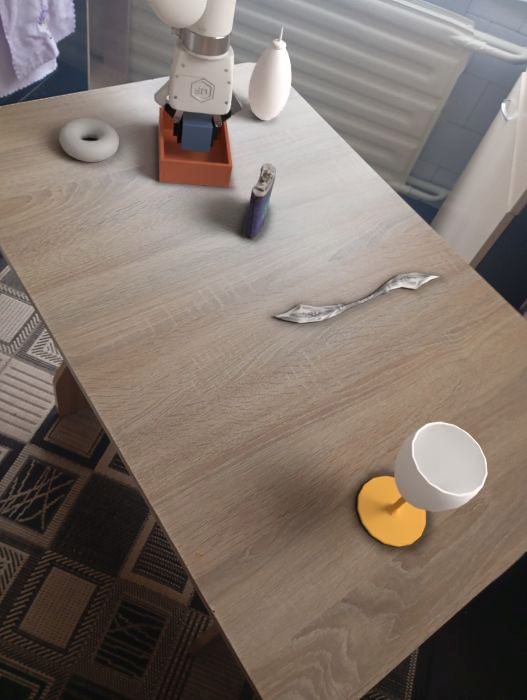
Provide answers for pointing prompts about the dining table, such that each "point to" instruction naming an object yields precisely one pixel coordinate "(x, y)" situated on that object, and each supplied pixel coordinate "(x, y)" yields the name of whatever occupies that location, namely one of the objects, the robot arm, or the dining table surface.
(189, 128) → the block
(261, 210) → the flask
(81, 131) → the donut
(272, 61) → the sauce bottle
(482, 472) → the cup
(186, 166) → the bin
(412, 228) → the dining table surface
